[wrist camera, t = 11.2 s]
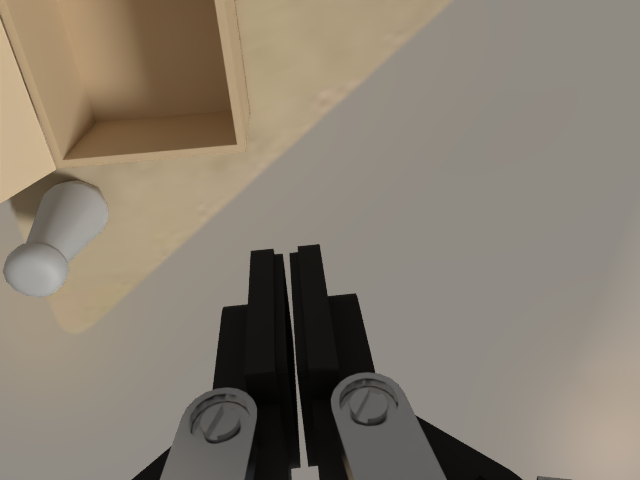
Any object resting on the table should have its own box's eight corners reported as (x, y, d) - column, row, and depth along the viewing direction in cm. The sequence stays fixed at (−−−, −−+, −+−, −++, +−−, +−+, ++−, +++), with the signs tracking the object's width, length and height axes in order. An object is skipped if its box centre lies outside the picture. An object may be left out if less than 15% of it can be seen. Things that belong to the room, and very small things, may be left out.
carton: (227, -53, 39) (217, -47, 31) (250, 113, 46) (246, 151, 38) (41, -40, 38) (-16, -31, 30) (92, 126, 45) (57, 168, 37)
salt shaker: (51, 219, 49) (-12, 304, 38) (50, 166, 47) (-18, 241, 36) (113, 229, 51) (70, 314, 40) (116, 179, 48) (71, 255, 37)
